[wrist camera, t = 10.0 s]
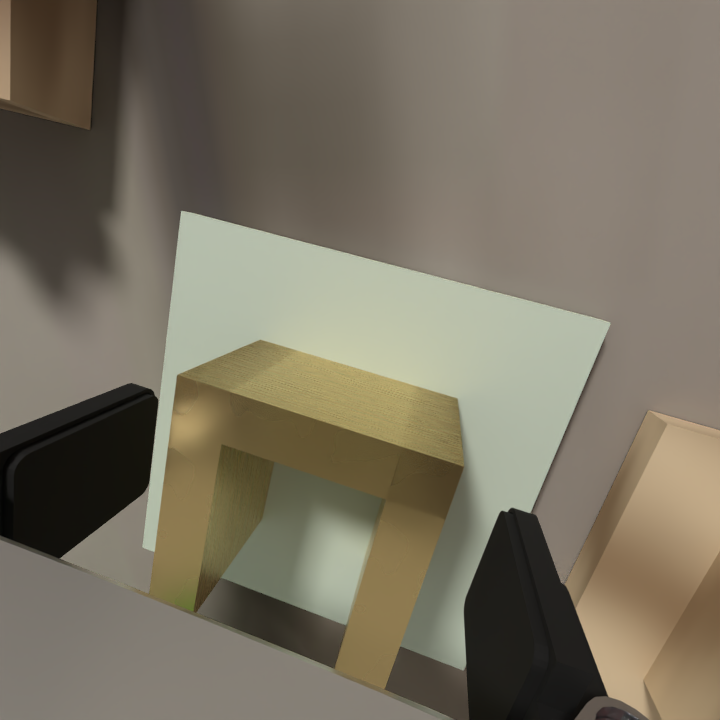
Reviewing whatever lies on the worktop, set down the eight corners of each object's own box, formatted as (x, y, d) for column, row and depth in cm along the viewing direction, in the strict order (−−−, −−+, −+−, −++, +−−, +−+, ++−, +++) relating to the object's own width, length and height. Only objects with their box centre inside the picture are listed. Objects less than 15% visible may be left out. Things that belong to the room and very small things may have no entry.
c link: (260, 339, 12) (176, 375, 8) (457, 398, 11) (464, 466, 8) (229, 507, 14) (148, 600, 10) (400, 568, 13) (382, 694, 9)
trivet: (193, 213, 12) (181, 210, 12) (601, 319, 11) (610, 322, 10) (153, 536, 16) (142, 547, 15) (462, 654, 14) (463, 670, 14)
